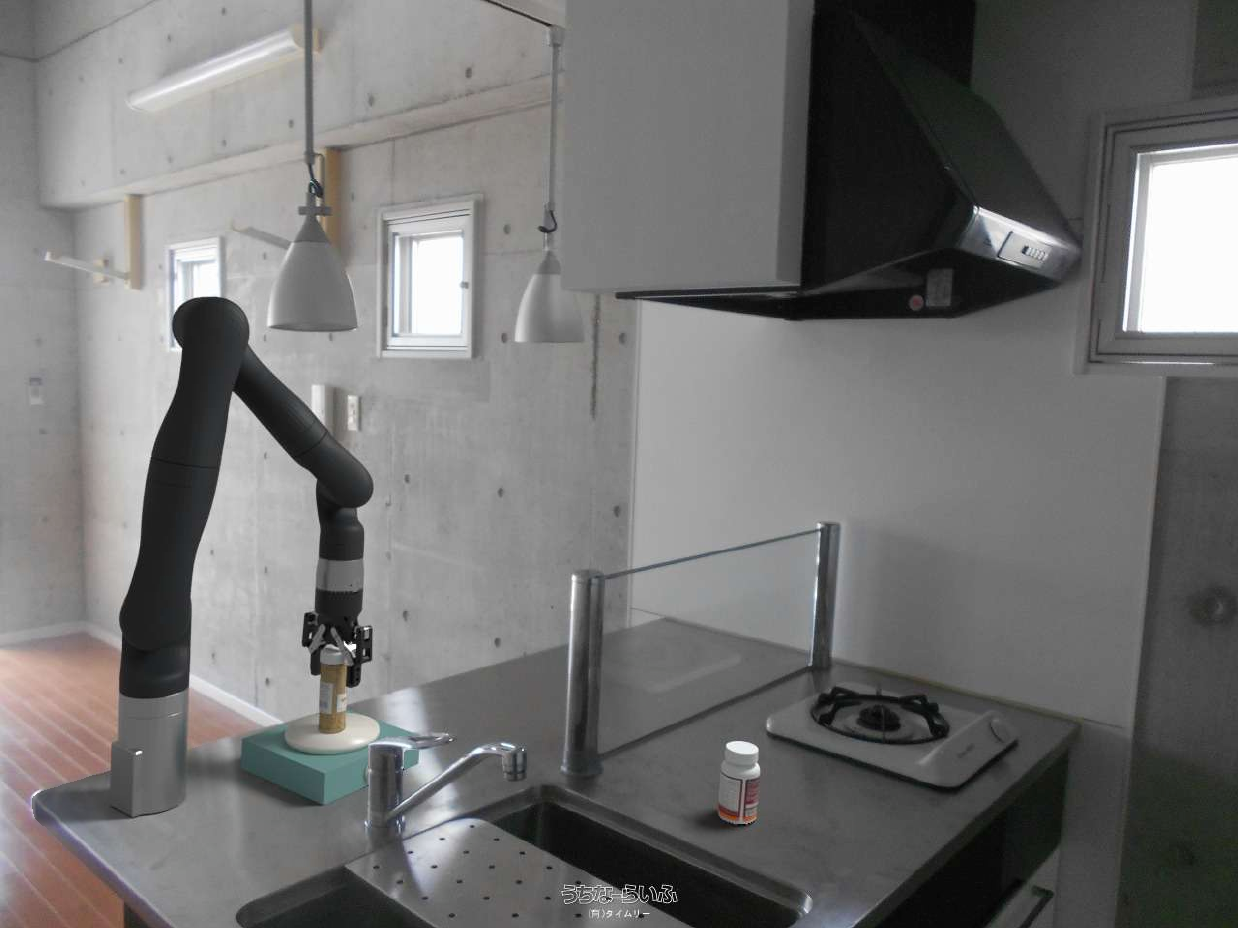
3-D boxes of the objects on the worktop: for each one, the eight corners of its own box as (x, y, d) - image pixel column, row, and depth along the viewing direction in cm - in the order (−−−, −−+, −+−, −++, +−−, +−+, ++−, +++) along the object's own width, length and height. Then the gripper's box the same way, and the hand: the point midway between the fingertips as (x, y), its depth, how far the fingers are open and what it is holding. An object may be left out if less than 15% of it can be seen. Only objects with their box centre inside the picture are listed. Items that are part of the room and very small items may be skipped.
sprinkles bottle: (349, 731, 149) (353, 651, 148) (321, 735, 147) (324, 654, 146) (341, 721, 153) (345, 644, 152) (314, 725, 151) (317, 647, 149)
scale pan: (327, 762, 140) (327, 755, 140) (264, 737, 147) (265, 730, 147) (398, 734, 152) (398, 727, 152) (337, 712, 160) (338, 706, 160)
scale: (326, 806, 136) (327, 774, 136) (240, 768, 147) (241, 738, 147) (420, 764, 153) (422, 735, 153) (338, 732, 164) (339, 706, 164)
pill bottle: (753, 808, 145) (759, 740, 144) (759, 827, 139) (765, 756, 138) (715, 806, 145) (720, 738, 144) (719, 824, 139) (724, 753, 138)
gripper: (292, 579, 148) (287, 675, 150) (352, 595, 141) (346, 696, 142) (328, 573, 155) (323, 665, 156) (387, 588, 147) (382, 685, 149)
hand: (334, 680), depth 149 cm, fingers open, 8 cm apart
